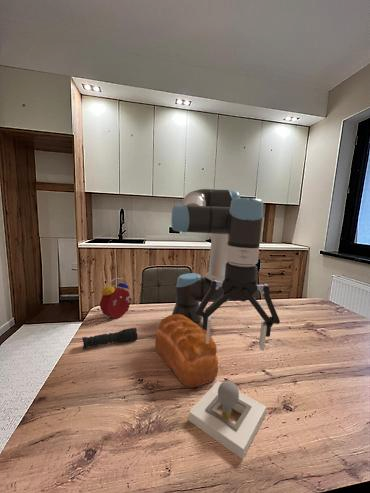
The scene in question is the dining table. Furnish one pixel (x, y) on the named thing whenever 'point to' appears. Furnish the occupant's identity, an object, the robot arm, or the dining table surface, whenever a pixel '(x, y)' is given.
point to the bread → (187, 350)
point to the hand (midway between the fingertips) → (234, 344)
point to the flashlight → (110, 338)
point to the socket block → (223, 429)
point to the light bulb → (228, 397)
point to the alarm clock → (115, 300)
